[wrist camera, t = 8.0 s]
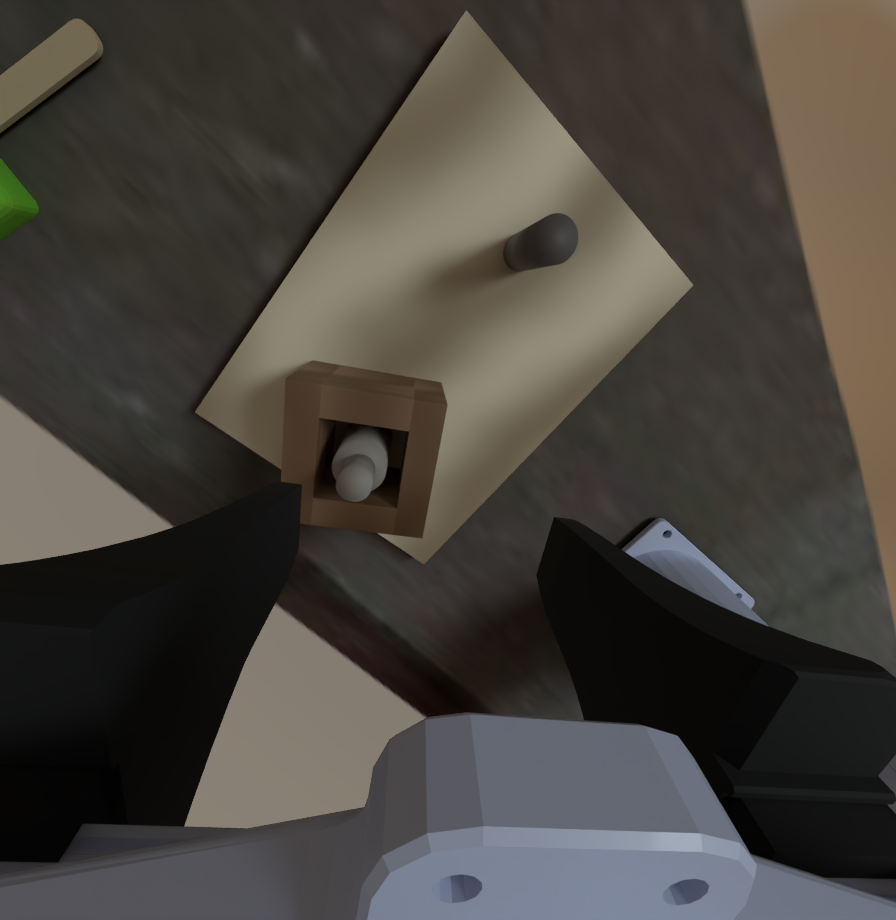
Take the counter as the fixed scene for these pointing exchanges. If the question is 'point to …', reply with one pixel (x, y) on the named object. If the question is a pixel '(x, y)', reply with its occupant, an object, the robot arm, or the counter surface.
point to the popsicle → (29, 86)
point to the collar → (369, 403)
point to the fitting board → (458, 287)
